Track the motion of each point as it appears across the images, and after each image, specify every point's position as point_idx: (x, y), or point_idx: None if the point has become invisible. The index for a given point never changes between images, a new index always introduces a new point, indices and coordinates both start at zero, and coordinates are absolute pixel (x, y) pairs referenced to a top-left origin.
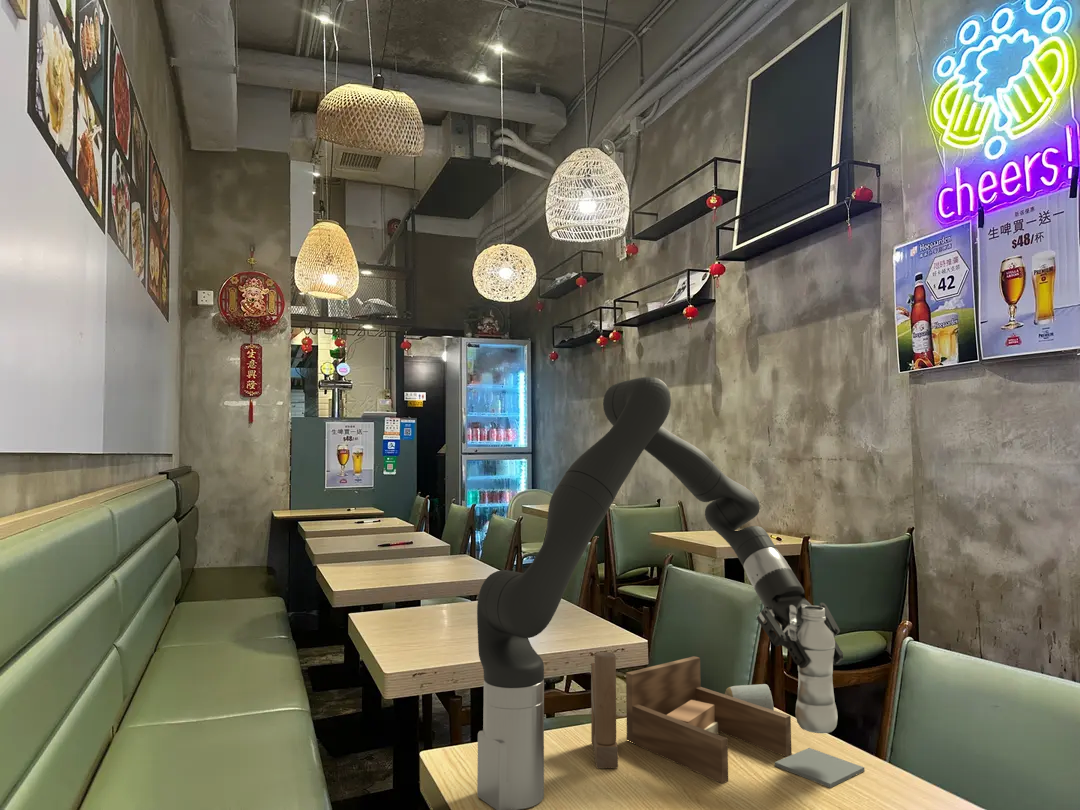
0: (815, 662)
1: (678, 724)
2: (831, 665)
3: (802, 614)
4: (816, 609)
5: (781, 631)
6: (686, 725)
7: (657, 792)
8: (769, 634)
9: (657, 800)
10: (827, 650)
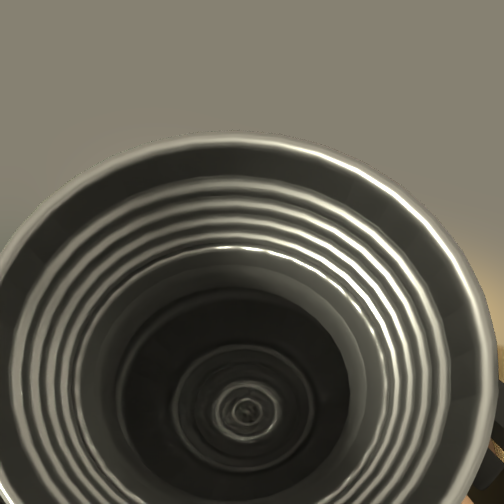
0: (292, 337)
1: (495, 454)
2: (202, 341)
3: (421, 413)
4: (36, 459)
5: (496, 407)
6: (489, 447)
7: (498, 368)
8: (501, 463)
9: (501, 348)
10: (233, 295)
